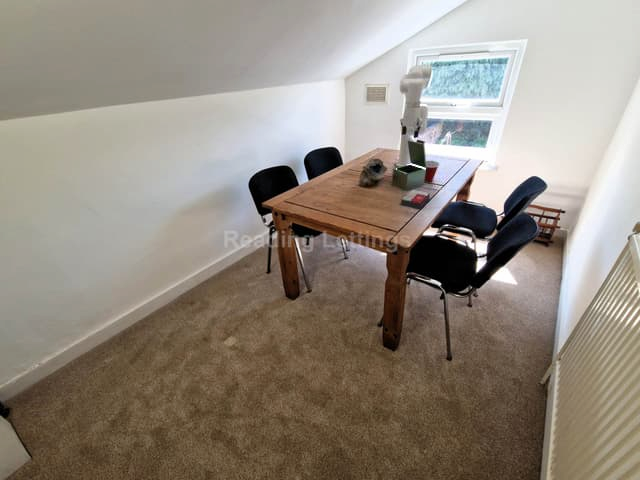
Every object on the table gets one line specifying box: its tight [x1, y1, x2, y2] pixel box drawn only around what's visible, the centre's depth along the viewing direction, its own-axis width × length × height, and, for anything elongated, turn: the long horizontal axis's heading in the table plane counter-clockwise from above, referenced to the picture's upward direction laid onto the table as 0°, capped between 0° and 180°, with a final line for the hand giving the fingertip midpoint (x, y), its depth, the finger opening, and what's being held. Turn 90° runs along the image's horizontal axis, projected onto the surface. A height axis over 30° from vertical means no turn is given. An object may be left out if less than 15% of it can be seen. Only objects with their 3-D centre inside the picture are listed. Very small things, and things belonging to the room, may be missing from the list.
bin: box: [391, 164, 426, 191], centre depth 181 cm, size 16×13×11 cm
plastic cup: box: [424, 160, 440, 183], centre depth 185 cm, size 11×11×12 cm
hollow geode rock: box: [358, 158, 388, 187], centre depth 191 cm, size 28×13×15 cm
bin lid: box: [408, 139, 427, 168], centre depth 176 cm, size 16×13×5 cm
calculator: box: [400, 189, 431, 210], centre depth 161 cm, size 11×4×15 cm
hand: (409, 135), depth 171 cm, fingers open, 9 cm apart
